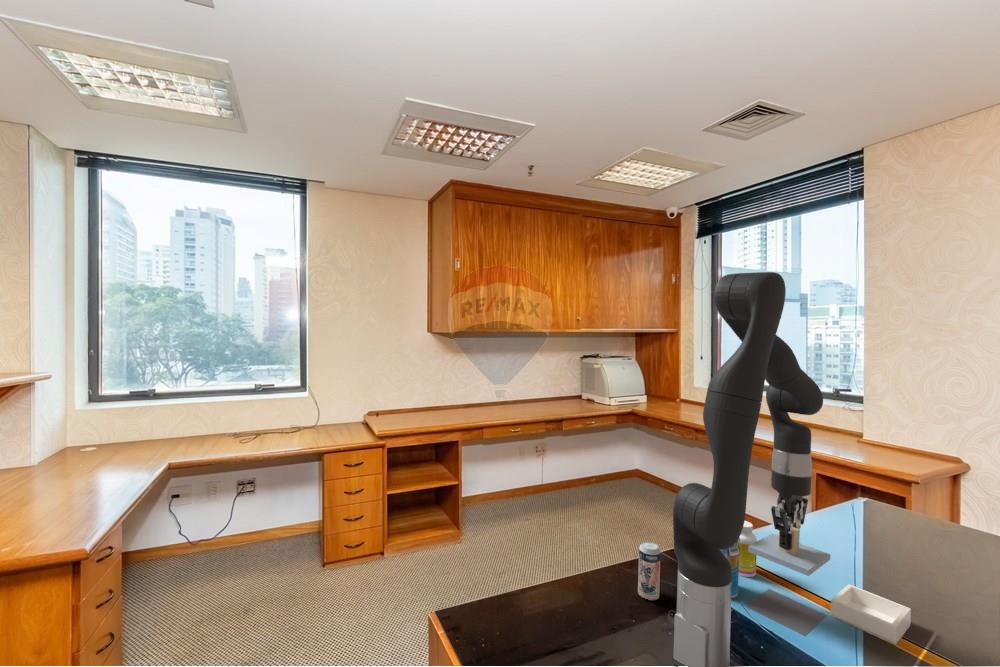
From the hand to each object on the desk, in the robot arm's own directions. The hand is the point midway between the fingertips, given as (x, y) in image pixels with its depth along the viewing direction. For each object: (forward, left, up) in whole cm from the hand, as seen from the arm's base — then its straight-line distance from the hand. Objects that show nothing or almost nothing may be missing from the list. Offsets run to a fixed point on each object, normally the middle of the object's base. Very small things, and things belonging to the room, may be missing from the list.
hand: (788, 545), depth 99 cm
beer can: (-21, +21, -15) cm, 34 cm away
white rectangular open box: (+12, -12, -15) cm, 22 cm away
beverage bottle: (-4, +13, -15) cm, 21 cm away
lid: (0, 0, -2) cm, 2 cm away
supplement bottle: (+9, +14, -15) cm, 23 cm away
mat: (0, 0, -15) cm, 15 cm away
